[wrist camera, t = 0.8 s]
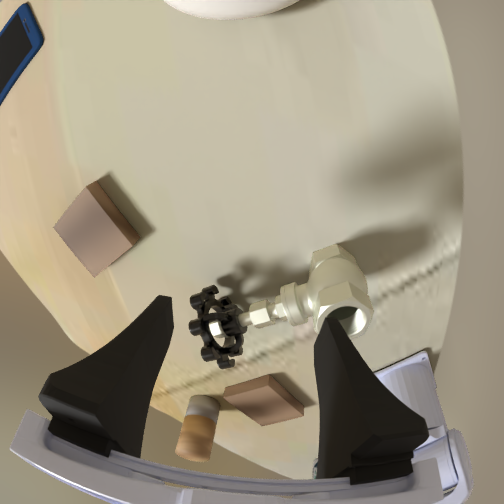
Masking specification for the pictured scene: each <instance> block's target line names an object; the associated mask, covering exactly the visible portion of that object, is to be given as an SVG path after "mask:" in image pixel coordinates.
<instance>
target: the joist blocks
mask: <svg viewBox="0 0 504 504" xmlns="http://www.w3.org/2000/svg"><path fill="white" fill-rule="evenodd" d="M53 228H54V229H55V230H56V232H57V233H58V234H59V235H60V237H61V238H62V239H63V241H64V242H65V243H66V244H67V246H68V247H69V248H70V249H71V251H72V252H73V253H74V254H75V256H76V257H77V258H78V259H79V260H80V262H81V263H82V264H83V265H84V266H85V267H86V269H87V270H88V271H89V272H90V273H91V274H92V276H93V277H94V278H95V277H96V276H97V275H98V274H99V273H100V272H102V271H103V270H104V269H105V268H106V267H108V266H109V265H110V264H111V263H112V262H114V261H115V260H116V259H117V258H118V257H120V256H121V255H122V254H123V253H125V252H126V251H127V250H128V249H130V248H131V247H132V246H133V245H134V244H135V243H136V242H137V241H138V240H139V239H140V236H139V235H138V233H137V232H136V231H135V230H134V229H133V227H132V226H131V225H130V224H129V222H128V221H127V220H126V219H125V217H124V216H123V215H122V214H121V212H120V211H119V210H118V209H117V207H116V206H115V205H114V204H113V202H112V201H111V200H110V198H109V197H108V196H107V195H106V193H105V192H104V191H103V189H102V188H101V187H100V185H99V184H98V183H97V181H95V182H93V183H91V184H90V185H88V186H86V187H85V188H84V189H83V190H82V192H81V193H80V194H79V195H78V196H77V198H76V199H75V200H74V201H73V202H72V204H71V205H70V206H69V207H68V209H67V210H66V211H65V212H64V214H63V215H62V216H61V217H60V219H59V220H58V221H57V223H56V224H55V225H54V227H53ZM223 398H224V399H225V400H227V401H228V402H229V403H230V404H232V405H233V406H235V407H236V408H237V409H239V410H240V411H241V412H243V413H244V414H245V415H247V416H248V417H250V418H251V419H253V420H254V421H255V422H257V423H258V424H260V425H261V426H265V425H270V424H274V423H278V422H283V421H287V420H291V419H294V418H298V417H302V416H304V406H303V405H302V404H301V403H300V402H299V401H298V400H296V399H295V398H294V397H293V396H292V395H291V394H290V393H289V392H288V391H286V390H285V389H284V388H283V387H282V386H281V385H280V384H279V383H278V382H277V381H276V380H275V379H274V378H272V377H271V376H270V375H265V376H262V377H259V378H256V379H253V380H250V381H246V382H243V383H240V384H236V385H233V386H229V387H226V388H225V391H224V396H223Z"/></svg>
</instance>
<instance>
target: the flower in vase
mask: <svg viewBox="0 0 504 504" xmlns="http://www.w3.org/2000/svg"><path fill="white" fill-rule="evenodd" d="M164 1H165V2H166V3H167V4H169V5H170V6H172V7H173V8H175V9H177V10H179V11H181V12H183V13H186V14H189V15H192V16H196V17H201V18H206V19H216V20H235V19H246V18H253V17H258V16H262V15H266V14H270V13H273V12H276V11H279V10H281V9H283V8H286V7H288V6H290V5H292V4H294V3H296V2H297V1H299V0H164Z"/></svg>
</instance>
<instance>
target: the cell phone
mask: <svg viewBox="0 0 504 504" xmlns="http://www.w3.org/2000/svg"><path fill="white" fill-rule="evenodd" d="M42 44H43V36H42V33H41V31H40V29H39V27H38V25H37V23H36V20H35V18H34V16H33V14H32V11H31V9H30V7H29V5H28V4H27V3H25V4H22V5H21V6H20V7H19V8H18V9H17V10H16V11H15V13H14V14H13V15H12V17H11V18H10V19H9V21H8V22H7V24H6V25H5V26H4V28H3V29H2V31H1V32H0V105H1V104H2V102H3V100H4V99H5V97H6V96H7V94H8V93H9V91H10V89H11V88H12V86H13V85H14V83H15V82H16V81H17V79H18V78H19V76H20V75H21V73H22V72H23V71H24V69H25V68H26V67H27V65H28V64H29V63H30V61H31V60H32V59H33V57H34V56H35V55H36V53H37V52H38V51H39V49H40V48H41V46H42Z"/></svg>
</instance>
